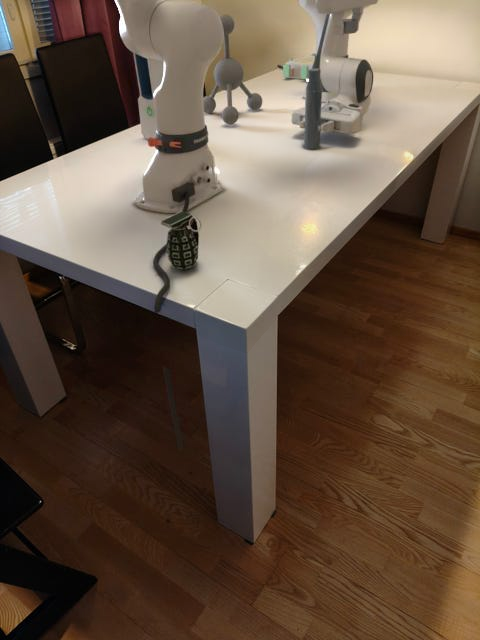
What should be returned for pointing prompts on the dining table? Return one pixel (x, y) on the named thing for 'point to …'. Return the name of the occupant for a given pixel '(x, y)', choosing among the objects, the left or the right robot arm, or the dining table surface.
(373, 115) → the dining table surface
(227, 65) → the molecular model
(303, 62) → the decorative block
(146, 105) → the electronic device
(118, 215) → the dining table surface
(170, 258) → the grenade
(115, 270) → the dining table surface
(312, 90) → the bottle
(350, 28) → the cap
